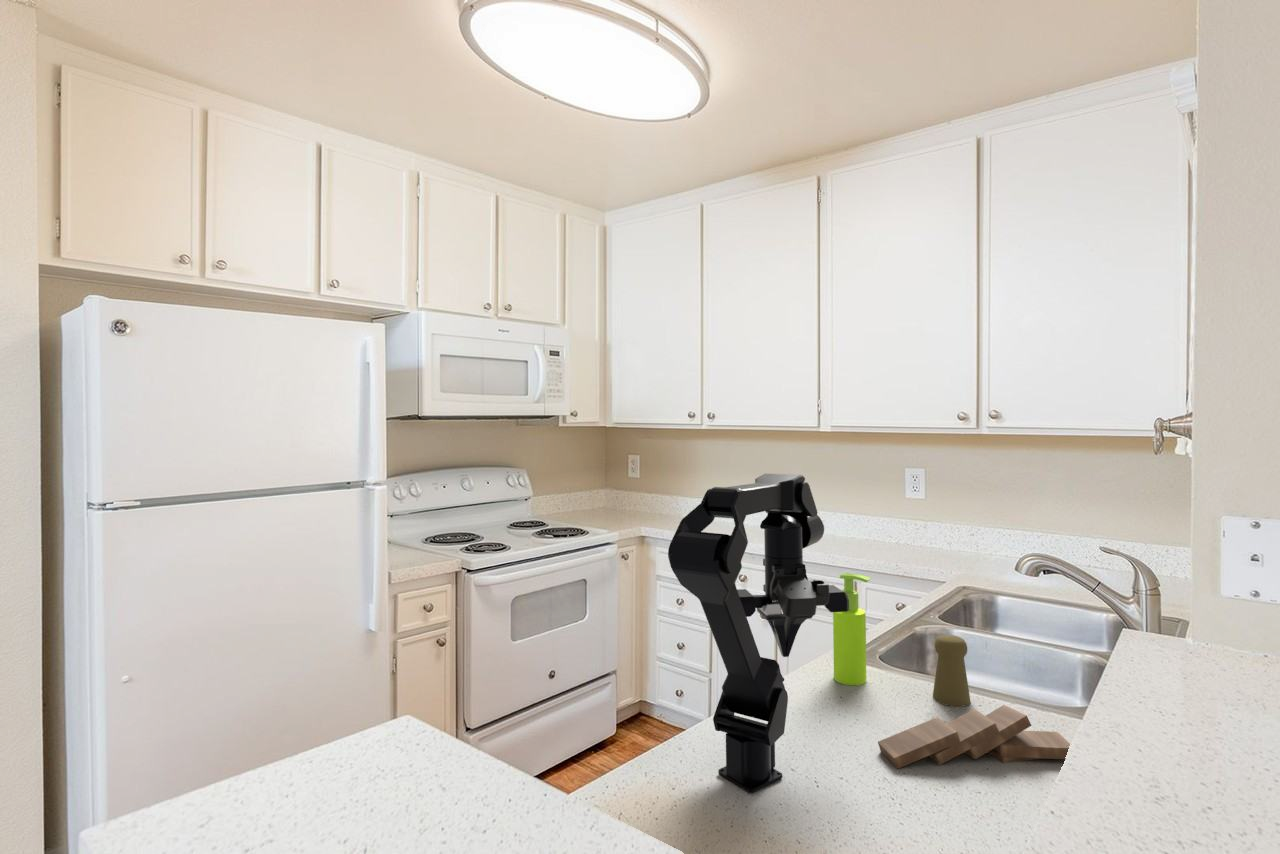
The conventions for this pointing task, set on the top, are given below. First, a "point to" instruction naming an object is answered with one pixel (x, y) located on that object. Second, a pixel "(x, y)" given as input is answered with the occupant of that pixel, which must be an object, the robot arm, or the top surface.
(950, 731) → the tile
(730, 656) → the robot arm
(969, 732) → the tile
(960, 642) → the cork
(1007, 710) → the tile
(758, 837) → the top surface
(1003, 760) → the tile
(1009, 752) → the tile
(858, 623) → the soap dispenser
